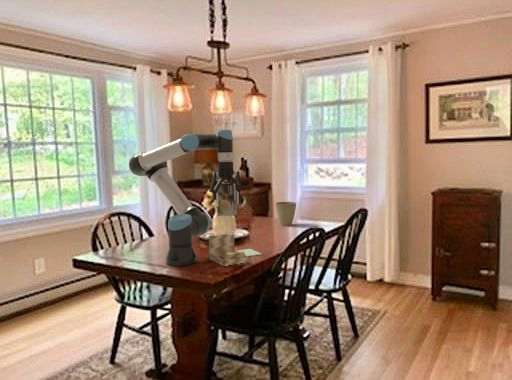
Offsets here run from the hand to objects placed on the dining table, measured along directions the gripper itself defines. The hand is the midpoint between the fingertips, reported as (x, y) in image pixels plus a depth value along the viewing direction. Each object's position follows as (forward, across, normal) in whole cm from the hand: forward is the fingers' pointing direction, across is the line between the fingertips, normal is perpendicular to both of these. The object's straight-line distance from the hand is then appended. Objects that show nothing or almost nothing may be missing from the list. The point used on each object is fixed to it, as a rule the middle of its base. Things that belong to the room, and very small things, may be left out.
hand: (226, 205), depth 220 cm
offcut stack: (+28, -1, -8) cm, 29 cm away
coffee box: (+5, 0, 0) cm, 5 cm away
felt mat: (+28, +13, +6) cm, 32 cm away
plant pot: (+28, +75, +64) cm, 102 cm away
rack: (+28, -1, -2) cm, 28 cm away
